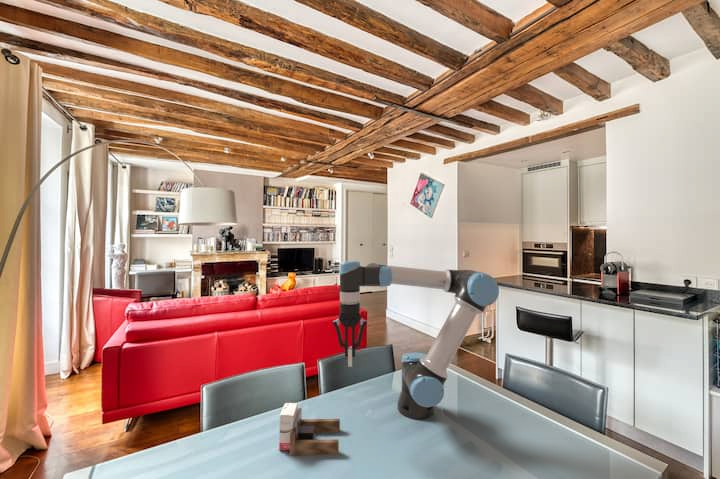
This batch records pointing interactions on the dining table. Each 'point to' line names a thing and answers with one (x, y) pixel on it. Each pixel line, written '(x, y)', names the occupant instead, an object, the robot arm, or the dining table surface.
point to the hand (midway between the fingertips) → (350, 365)
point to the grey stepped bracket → (302, 428)
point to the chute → (316, 445)
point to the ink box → (287, 424)
